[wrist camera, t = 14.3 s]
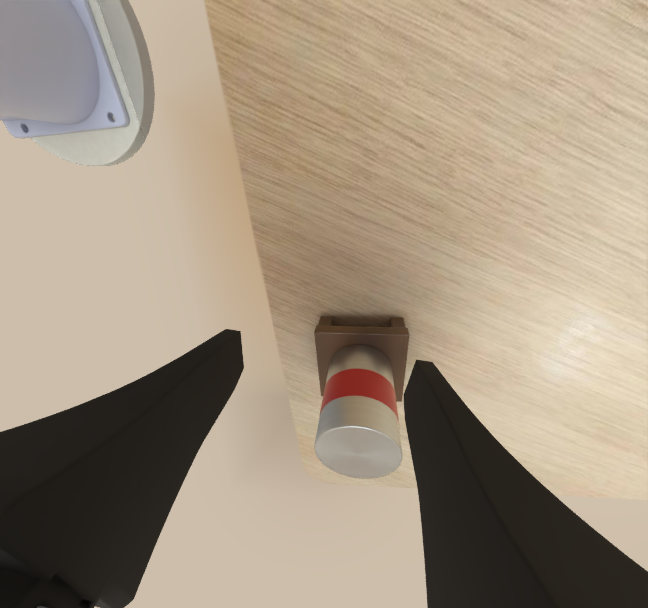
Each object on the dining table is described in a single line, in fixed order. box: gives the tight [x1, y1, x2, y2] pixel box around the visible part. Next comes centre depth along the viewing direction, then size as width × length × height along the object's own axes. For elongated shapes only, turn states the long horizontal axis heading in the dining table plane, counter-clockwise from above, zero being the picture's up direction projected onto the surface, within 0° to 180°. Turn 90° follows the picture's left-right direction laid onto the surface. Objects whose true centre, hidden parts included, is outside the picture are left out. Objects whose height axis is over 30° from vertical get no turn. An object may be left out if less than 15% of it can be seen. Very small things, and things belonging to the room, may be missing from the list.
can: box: [315, 345, 402, 479], centre depth 18 cm, size 5×5×7 cm
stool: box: [315, 317, 409, 402], centre depth 22 cm, size 7×7×2 cm
